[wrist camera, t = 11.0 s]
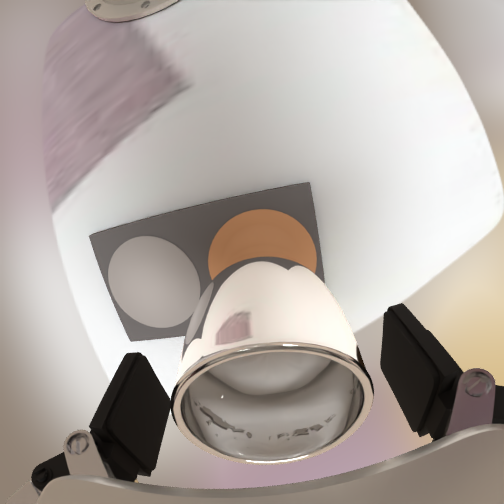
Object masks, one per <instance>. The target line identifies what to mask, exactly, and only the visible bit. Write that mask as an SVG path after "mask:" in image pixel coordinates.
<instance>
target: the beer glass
mask: <svg viewBox="0 0 504 504" xmlns="http://www.w3.org/2000/svg"><path fill="white" fill-rule="evenodd" d="M373 399H374V388H373V383H372V380H371V378H370V375H369V374H368V372H367V370H366V367H365V365H364V362H363V359H362V356H361V353H360V350H359V348H358V345H357V343H356V340H355V337H354V335H353V332H352V330H351V327H350V325H349V323H348V321H347V319H346V317H345V315H344V313H343V311H342V309H341V307H340V305H339V304H338V302H337V301H336V299H335V298H334V296H333V295H332V293H331V292H330V290H329V289H328V287H327V286H326V285H325V284H324V283H323V282H322V281H321V280H320V279H319V278H318V277H317V275H316V274H315V273H314V272H313V271H311V270H310V269H309V268H308V267H307V266H305V265H304V264H303V263H302V262H300V254H299V250H298V247H297V245H296V243H295V241H294V240H293V238H292V237H291V236H290V235H289V234H288V233H287V232H285V231H284V230H282V229H280V228H278V227H276V226H273V225H268V224H255V225H251V226H247V227H245V228H243V229H241V230H239V231H238V232H237V233H235V234H234V235H233V236H232V237H231V238H230V240H229V241H228V243H227V244H226V246H225V249H224V252H223V256H222V270H221V271H220V272H219V273H218V274H217V275H216V276H215V278H214V279H213V280H212V281H211V283H210V284H209V286H208V287H207V289H206V290H205V292H204V293H203V295H202V296H201V298H200V300H199V302H198V304H197V306H196V309H195V311H194V313H193V315H192V318H191V320H190V323H189V327H188V330H187V333H186V336H185V340H184V344H183V348H182V352H181V357H180V362H179V367H178V372H177V378H176V383H175V387H174V390H173V392H172V396H171V413H172V417H173V419H174V421H175V423H176V425H177V427H178V428H179V430H180V431H181V432H182V434H183V435H184V436H185V437H186V438H187V439H188V440H190V441H191V442H192V443H193V444H195V445H196V446H198V447H199V448H201V449H202V450H204V451H206V452H208V453H210V454H213V455H215V456H218V457H220V458H224V459H227V460H231V461H235V462H240V463H247V464H256V465H273V464H284V463H291V462H296V461H300V460H304V459H308V458H311V457H314V456H316V455H319V454H321V453H324V452H326V451H328V450H330V449H332V448H334V447H336V446H337V445H339V444H340V443H342V442H343V441H345V440H346V439H347V438H349V437H350V436H351V435H352V434H353V433H354V432H355V431H356V430H357V429H358V428H359V427H360V426H361V425H362V423H363V422H364V421H365V419H366V418H367V416H368V414H369V411H370V410H371V407H372V403H373Z"/></svg>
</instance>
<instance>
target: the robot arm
mask: <svg viewBox="0 0 504 504" xmlns="http://www.w3.org/2000/svg"><path fill="white" fill-rule="evenodd" d="M177 1H178V0H85V5H86V7H87V9H88V11H89V12H91V13H92V14H93V15H94V16H96V17H97V18H99V19H101V20H104V21H110V22H121V21H129V20H133V19H137V18H141V17H144V16H147V15H150V14H153V13H155V12H157V11H159V10H162V9H164V8H166V7H168V6H169V5H171V4H173V3H175V2H177ZM380 365H381V369H382V372H383V374H384V375H385V378H386V380H387V381H388V383H389V385H390V387H391V389H392V391H393V393H394V395H395V397H396V399H397V401H398V403H399V405H400V407H401V409H402V411H403V413H404V415H405V417H406V419H407V421H408V423H409V425H410V427H411V429H412V431H413V432H417V433H418V435H419V437H421V436H424V435H426V434H428V433H429V434H430V436H431V438H433V440H432V442H431V443H429V444H427V445H424V446H422V447H419V448H417V449H415V450H412V451H410V452H407V453H405V454H402V455H399V456H397V457H394V458H391V459H389V460H385V461H382V462H380V463H377V464H373V465H371V466H367V467H364V468H361V469H357V470H353V471H350V472H346V473H342V474H339V475H334V476H330V477H325V478H321V479H315V480H310V481H305V482H298V483H292V484H285V485H277V486H268V487H257V488H242V489H194V488H193V489H192V488H178V487H167V486H157V485H149V484H142V483H139V482H138V480H137V475H142V476H151V472H152V470H154V469H155V467H156V463H157V459H158V455H159V451H160V447H161V442H162V439H163V435H164V431H165V427H166V423H167V419H168V416H169V412H170V408H171V401H170V398H169V396H168V395H167V393H166V392H165V390H164V388H163V386H162V385H161V383H160V381H159V380H158V378H157V376H156V374H155V373H154V371H153V369H152V367H151V365H150V363H149V362H148V360H147V358H146V357H145V356H143V355H142V354H141V353H139V352H137V353H127V354H126V355H125V356H124V358H123V360H122V362H121V364H120V365H119V367H118V369H117V371H116V373H115V375H114V377H113V379H112V381H111V383H110V385H109V387H108V389H107V391H106V392H105V394H104V397H103V398H102V401H101V402H100V404H99V407H98V409H97V411H96V413H95V415H94V417H93V419H92V421H91V423H90V425H89V427H90V428H91V431H90V433H89V432H88V431H86V430H77V431H74V432H73V433H71V434H70V435H69V436H68V437H67V438H66V440H65V441H64V445H63V447H64V452H63V453H61V454H59V455H57V456H55V457H53V458H51V459H49V460H47V461H45V462H43V463H41V464H39V465H38V466H36V468H35V469H34V470H33V473H32V477H31V478H32V482H31V481H30V480H28V481H27V482H26V483H25V484H24V485H23V486H22V487H20V488H19V489H18V490H17V491H16V492H15V493H14V494H12V495H11V496H10V497H9V498H8V499H7V501H6V503H5V504H504V386H498V385H495V380H494V378H493V376H492V375H491V374H490V373H489V372H488V371H486V370H484V369H480V368H473V369H470V370H467V371H466V372H463V371H462V370H461V368H460V367H459V366H458V365H457V363H456V362H455V361H454V360H453V358H452V357H451V356H450V355H449V353H448V352H447V351H446V350H445V349H444V347H443V346H442V345H441V344H440V343H439V341H438V340H437V339H436V338H435V337H434V336H433V334H432V333H431V332H430V331H429V330H426V329H425V328H424V327H423V325H421V323H420V322H419V321H418V320H417V319H416V317H415V316H414V315H413V314H412V313H411V312H410V311H409V309H407V307H406V306H405V305H404V304H402V303H401V304H397V305H394V306H391V307H389V308H388V310H387V312H385V313H384V321H383V337H382V350H381V361H380Z"/></svg>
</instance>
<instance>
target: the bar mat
mask: <svg viewBox="0 0 504 504" xmlns="http://www.w3.org/2000/svg"><path fill="white" fill-rule="evenodd" d="M255 224H268V225H273V226H276V227H278V228H280V229H282V230H284V231H285V232H287V233H288V234H289V235H290V236H291V237H292V238H293V240H294V241H295V243H296V245H297V247H298V250H299V254H300V262H302V263H303V264H304V265H305V266H307V267H308V268H309V269H310V270H311V271H313V272H314V273H315V274H316V275H317V277H318V278H319V279H320V280H321V281H322V282H323V283H324V284H325V281H324V273H323V265H322V257H321V250H320V242H319V236H318V229H317V222H316V216H315V210H314V204H313V198H312V192H311V187H310V183H309V182H307V183H301V184H296V185H290V186H285V187H280V188H275V189H270V190H265V191H260V192H255V193H250V194H245V195H241V196H236V197H231V198H227V199H223V200H218V201H214V202H209V203H205V204H201V205H197V206H193V207H189V208H185V209H181V210H177V211H173V212H169V213H165V214H161V215H158V216H154V217H150V218H146V219H143V220H139V221H136V222H132V223H129V224H125V225H122V226H118V227H115V228H111V229H108V230H105V231H101V232H98V233H95V234H92V235H90V236H89V238H90V241H91V244H92V247H93V250H94V253H95V256H96V259H97V262H98V265H99V268H100V270H101V273H102V276H103V278H104V281H105V284H106V286H107V289H108V291H109V294H110V296H111V299H112V301H113V304H114V306H115V308H116V311H117V313H118V315H119V318H120V320H121V322H122V324H123V326H124V329H125V331H126V333H127V335H128V337H129V339H130V341H142V340H152V339H162V338H171V337H179V336H186V333H187V330H188V327H189V323H190V320H191V318H192V315H193V313H194V311H195V309H196V306H197V304H198V302H199V300H200V298H201V296H202V295H203V293H204V292H205V290H206V289H207V287H208V286H209V284H210V283H211V281H212V280H213V279H214V278H215V276H216V275H217V274H218V273H219V272H220V271H221V270H222V256H223V252H224V249H225V246H226V244H227V243H228V241H229V240H230V238H231V237H232V236H233V235H234V234H235V233H237V232H238V231H239V230H241V229H243V228H245V227H247V226H251V225H255Z"/></svg>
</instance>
